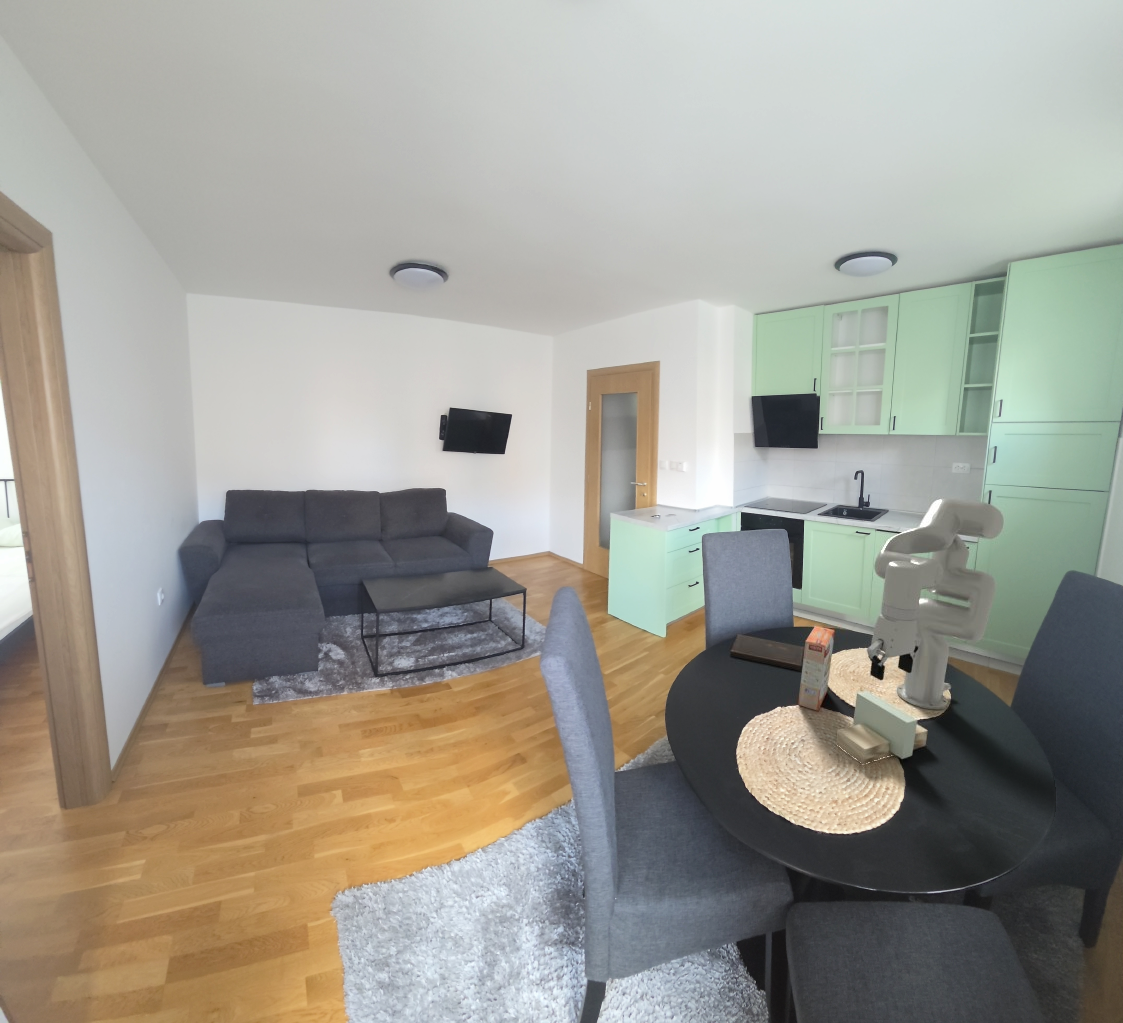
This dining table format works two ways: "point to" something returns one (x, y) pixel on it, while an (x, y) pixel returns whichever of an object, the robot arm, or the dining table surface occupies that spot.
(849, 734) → the slotted rail
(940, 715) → the dining table surface
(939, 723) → the dining table surface
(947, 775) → the dining table surface
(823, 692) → the cracker box
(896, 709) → the pale green plate
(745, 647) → the hardcover book
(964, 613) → the robot arm
